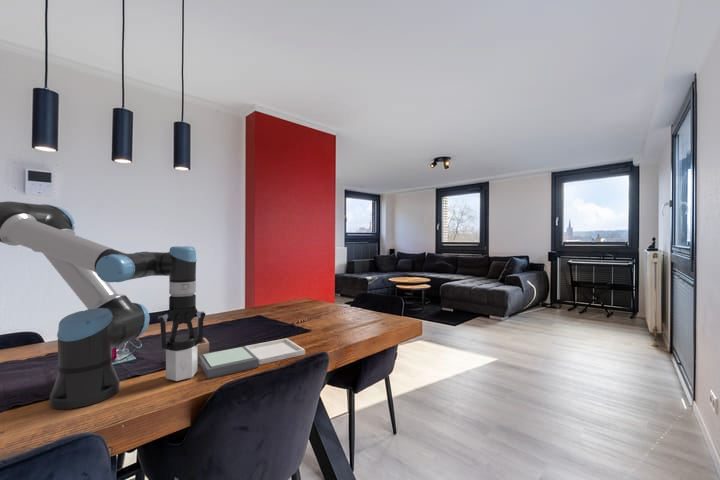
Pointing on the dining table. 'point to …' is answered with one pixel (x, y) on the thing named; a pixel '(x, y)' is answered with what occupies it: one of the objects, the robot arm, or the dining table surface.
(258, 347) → the tray
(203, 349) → the cup
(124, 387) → the dining table surface
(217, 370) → the block
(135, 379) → the dining table surface
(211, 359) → the plate
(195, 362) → the jar
